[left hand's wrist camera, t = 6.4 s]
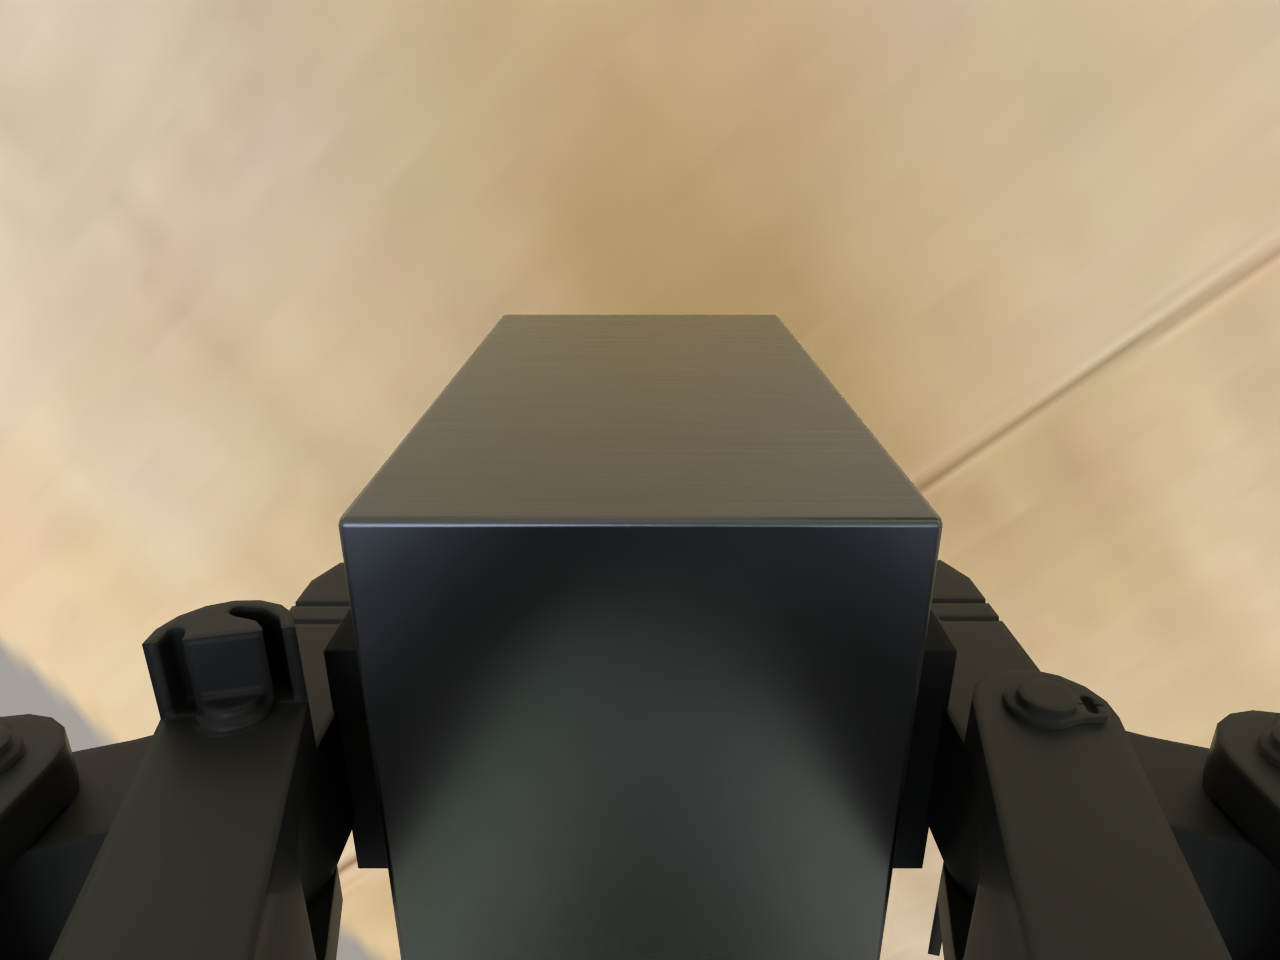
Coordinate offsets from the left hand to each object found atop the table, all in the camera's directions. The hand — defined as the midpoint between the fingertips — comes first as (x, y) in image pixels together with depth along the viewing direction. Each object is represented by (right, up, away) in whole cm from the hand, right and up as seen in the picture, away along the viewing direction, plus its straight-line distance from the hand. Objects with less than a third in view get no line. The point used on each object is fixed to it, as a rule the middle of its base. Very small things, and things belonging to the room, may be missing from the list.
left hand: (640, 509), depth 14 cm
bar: (0, -9, +4) cm, 10 cm away
